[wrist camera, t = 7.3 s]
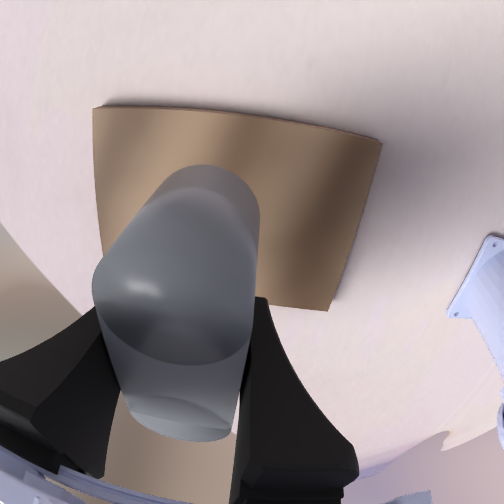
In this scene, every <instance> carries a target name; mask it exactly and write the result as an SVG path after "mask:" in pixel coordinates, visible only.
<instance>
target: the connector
mask: <svg viewBox="0 0 504 504" xmlns="http://www.w3.org/2000/svg"><path fill="white" fill-rule="evenodd" d="M259 231H260V210H259V205H258V202H257V199H256V197H255V195H254V193H253V192H252V190H251V189H250V188H249V186H248V185H247V184H246V183H245V182H244V181H243V180H242V179H241V178H239V177H238V176H237V175H235V174H234V173H232V172H230V171H228V170H226V169H224V168H221V167H217V166H212V165H192V166H188V167H185V168H182V169H179V170H178V171H176V172H174V173H172V174H171V175H170V176H168V177H167V178H166V179H165V180H164V181H163V183H162V184H161V185H160V186H159V187H158V188H157V190H156V191H155V192H154V193H153V194H152V195H151V197H150V198H149V199H148V200H147V201H146V203H145V204H144V205H143V206H142V208H141V209H140V210H139V211H138V212H137V214H136V215H135V216H134V217H133V219H132V220H131V221H130V222H129V224H128V225H127V226H126V228H125V229H124V230H123V231H122V233H121V234H120V235H119V237H118V238H117V239H116V241H115V242H114V243H113V244H112V246H111V247H110V248H109V250H108V251H107V253H106V254H105V255H104V257H103V258H102V259H101V261H100V262H99V264H98V265H97V267H96V269H95V272H94V275H93V279H92V295H93V300H94V304H95V308H96V312H97V316H98V320H99V323H100V327H101V330H102V334H103V337H104V340H105V344H106V347H107V350H108V353H109V356H110V359H111V362H112V365H113V368H114V371H115V374H116V377H117V380H118V383H119V385H120V388H121V391H122V393H123V396H124V398H125V401H126V404H127V406H128V409H129V411H130V413H131V415H132V416H133V417H134V418H135V419H136V420H137V421H138V422H139V423H141V424H142V425H144V426H145V427H147V428H149V429H151V430H152V431H155V432H157V433H159V434H162V435H165V436H168V437H171V438H175V439H179V440H185V441H193V442H210V441H216V440H219V439H222V438H224V437H226V436H227V435H229V433H230V432H231V428H232V424H233V419H234V414H235V410H236V405H237V400H238V395H239V391H240V386H241V381H242V376H243V371H244V367H245V362H246V357H247V352H248V347H249V342H250V337H251V332H252V327H253V317H254V303H255V289H256V274H257V260H258V245H259Z"/></svg>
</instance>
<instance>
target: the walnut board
mask: <svg viewBox="0 0 504 504" xmlns="http://www.w3.org/2000/svg"><path fill="white" fill-rule="evenodd" d="M381 146H382V143H381V142H379V141H378V140H377V139H373V138H369V137H365V136H361V135H357V134H353V133H349V132H345V131H340V130H336V129H331V128H327V127H322V126H317V125H312V124H307V123H301V122H296V121H290V120H284V119H278V118H272V117H265V116H258V115H251V114H243V113H235V112H226V111H216V110H205V109H193V108H177V107H155V106H100V107H97V108H94V109H93V160H94V177H95V191H96V202H97V212H98V221H99V229H100V237H101V244H102V251H103V257H104V255H105V254H106V253H107V251H108V250H109V248H110V247H111V246H112V244H113V243H114V242H115V241H116V239H117V238H118V237H119V235H120V234H121V233H122V231H123V230H124V229H125V228H126V226H127V225H128V224H129V222H130V221H131V220H132V219H133V217H134V216H135V215H136V214H137V212H138V211H139V210H140V209H141V208H142V206H143V205H144V204H145V203H146V201H147V200H148V199H149V198H150V197H151V195H152V194H153V193H154V192H155V191H156V190H157V188H158V187H159V186H160V185H161V184H162V183H163V181H164V180H165V179H166V178H167V177H168V176H170V175H171V174H172V173H174V172H176V171H178V170H179V169H182V168H185V167H188V166H192V165H212V166H217V167H221V168H224V169H226V170H228V171H230V172H232V173H234V174H235V175H237V176H238V177H239V178H241V179H242V180H243V181H244V182H245V183H246V184H247V185H248V186H249V188H250V189H251V190H252V192H253V193H254V195H255V197H256V199H257V202H258V205H259V210H260V231H259V245H258V260H257V274H256V289H255V296H257V297H265V298H266V299H267V300H268V305H276V306H284V307H292V308H301V309H310V310H319V311H328V309H329V307H330V304H331V302H332V299H333V296H334V294H335V291H336V289H337V286H338V283H339V280H340V278H341V275H342V272H343V269H344V267H345V264H346V261H347V258H348V255H349V252H350V250H351V247H352V244H353V241H354V238H355V235H356V232H357V229H358V226H359V222H360V219H361V216H362V213H363V210H364V206H365V203H366V200H367V197H368V193H369V190H370V186H371V183H372V180H373V176H374V172H375V169H376V165H377V162H378V158H379V154H380V150H381Z"/></svg>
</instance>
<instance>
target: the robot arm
mask: <svg viewBox="0 0 504 504" xmlns="http://www.w3.org/2000/svg"><path fill="white" fill-rule="evenodd" d="M493 243H494V244H493ZM446 314H447V316H448V317H449V318H465V319H473V321H474V323H475V325H476V326H477V328H478V330H479V332H480V334H481V336H482V338H483V339H484V341H485V343H486V345H487V347H488V349H489V351H490V353H491V355H492V357H493V359H494V361H495V363H496V365H497V367H498V369H499V372H500V374H501V376H502V378H503V380H504V239H502V238H499V237H496V236H492V235H490V236H488V237H487V238H486V239H485V241H484V243H483V245H482V247H481V249H480V251H479V253H478V255H477V257H476V259H475V261H474V263H473V265H472V267H471V269H470V271H469V273H468V275H467V277H466V279H465V280H464V282H463V284H462V286H461V288H460V289H459V291H458V293H457V295H456V296H455V298H454V300H453V302H452V303H451V305H450V307H449V308H448V310H447V312H446ZM120 390H121V388H120V385H119V383H118V380H117V377H116V374H115V371H114V368H113V365H112V362H111V359H110V356H109V353H108V350H107V347H106V344H105V340H104V337H103V334H102V330H101V327H100V323H99V320H98V316H97V312H96V308H95V306H94V307H93V308H92V309H91V310H89V311H88V312H87V313H86V314H84V315H83V316H82V317H81V318H79V319H78V320H77V321H76V322H74V323H73V324H71V325H70V326H68V327H67V328H66V329H64V330H63V331H61V332H60V333H58V334H56V335H55V336H53V337H52V338H50V339H48V340H46V341H44V342H43V343H41V344H39V345H37V346H35V347H34V348H32V349H30V350H28V351H26V352H23V353H21V354H19V355H16V356H14V357H12V358H9V359H7V360H4V361H1V362H0V503H1V504H86V503H85V501H84V500H82V499H80V498H78V497H76V496H74V495H72V494H70V493H69V492H67V491H66V490H65V489H63V488H61V487H59V486H57V485H55V484H53V483H51V482H49V481H47V480H46V479H45V477H44V476H46V477H48V478H50V479H52V480H54V481H56V482H59V483H61V484H63V485H65V486H68V487H70V488H72V489H75V490H77V491H80V492H82V493H85V494H88V495H90V496H93V497H96V498H98V499H101V500H104V501H107V502H110V503H113V504H192V503H187V502H181V501H176V500H171V499H166V498H161V497H157V496H153V495H149V494H145V493H141V492H137V491H133V490H130V489H126V488H123V487H120V486H116V485H113V484H110V483H107V482H104V481H101V480H98V479H99V478H102V477H103V476H104V471H105V461H106V454H107V447H108V442H109V436H110V431H111V426H112V421H113V417H114V412H115V408H116V405H117V401H118V397H119V393H120ZM500 395H501V397H502V399H503V403H502V404H501V406H500V408H499V411H498V416H497V430H498V436H499V440H500V443H501V446H502V448H503V450H504V387H503V389H502V390H501V391H500ZM43 475H44V476H43ZM358 476H359V465H358V461H357V457H356V453H355V450H354V447H353V445H352V444H351V443H350V442H349V441H348V440H347V439H346V438H345V437H344V436H343V435H342V434H341V433H340V432H339V431H338V430H337V429H336V428H335V427H334V426H333V425H332V423H331V422H330V421H329V420H328V419H327V418H326V416H325V415H324V414H323V413H322V411H321V410H320V409H319V407H318V406H317V405H316V403H315V402H314V401H313V399H312V398H311V397H310V395H309V394H308V392H307V391H306V389H305V388H304V386H303V384H302V383H301V381H300V380H299V378H298V376H297V374H296V373H295V371H294V369H293V367H292V365H291V363H290V361H289V359H288V357H287V355H286V353H285V351H284V349H283V346H282V344H281V342H280V339H279V337H278V334H277V332H276V329H275V326H274V323H273V320H272V317H271V313H270V310H269V305H268V300H267V299H266V298H265V297H257V296H255V303H254V317H253V327H252V332H251V337H250V342H249V347H248V352H247V357H246V362H245V367H244V371H243V376H242V381H241V386H240V407H239V421H238V430H237V440H236V448H235V458H234V466H233V474H232V482H231V490H230V498H229V504H341V498H343V497H344V492H343V487H345V486H346V485H348V484H349V483H351V482H353V481H354V480H355V479H356V478H357V477H358ZM381 504H432V498H431V492H430V490H425V491H421V492H417V493H412V494H408V495H404V496H400V497H397V498H394V499H392V500H390V501H389V502H387V503H381Z"/></svg>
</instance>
